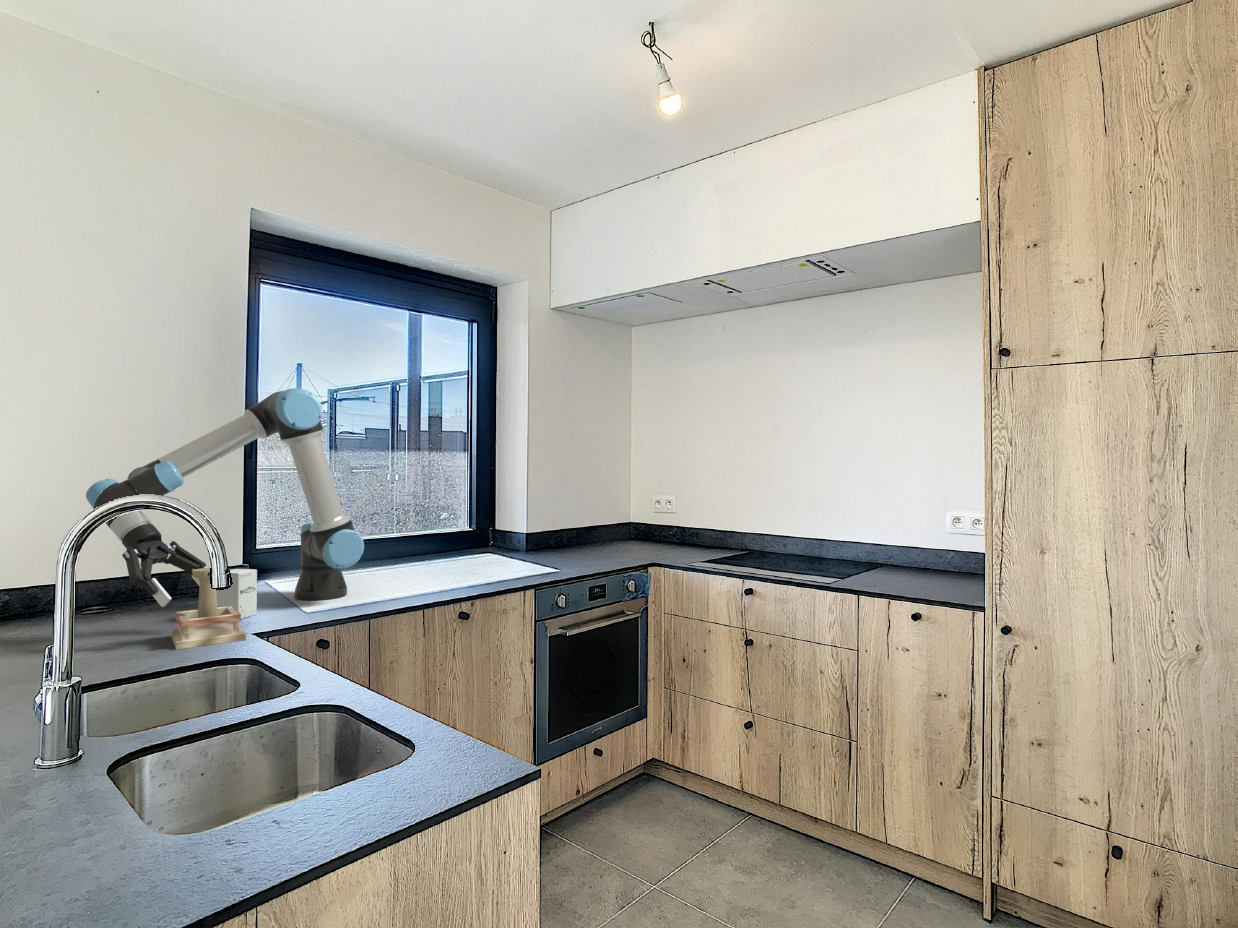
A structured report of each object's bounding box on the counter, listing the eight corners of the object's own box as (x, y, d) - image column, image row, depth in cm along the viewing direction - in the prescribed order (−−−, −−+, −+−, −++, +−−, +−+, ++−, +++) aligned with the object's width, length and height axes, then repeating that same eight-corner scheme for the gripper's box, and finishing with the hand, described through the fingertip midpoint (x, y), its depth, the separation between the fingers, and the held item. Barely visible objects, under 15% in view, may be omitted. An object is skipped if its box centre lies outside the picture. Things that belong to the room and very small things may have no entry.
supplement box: (238, 620, 184) (238, 573, 183) (213, 619, 185) (213, 572, 185) (257, 614, 191) (257, 568, 191) (234, 613, 192) (234, 567, 192)
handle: (190, 631, 166) (190, 569, 166) (221, 627, 170) (221, 566, 170) (193, 635, 162) (193, 571, 162) (224, 631, 166) (224, 569, 166)
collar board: (236, 628, 176) (236, 604, 176) (245, 639, 164) (245, 614, 164) (170, 636, 167) (170, 611, 167) (176, 649, 156) (176, 622, 156)
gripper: (169, 537, 182) (219, 597, 179) (79, 549, 157) (135, 619, 155) (187, 518, 181) (237, 577, 178) (99, 527, 156) (156, 596, 154)
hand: (190, 597), depth 166 cm, fingers open, 13 cm apart
